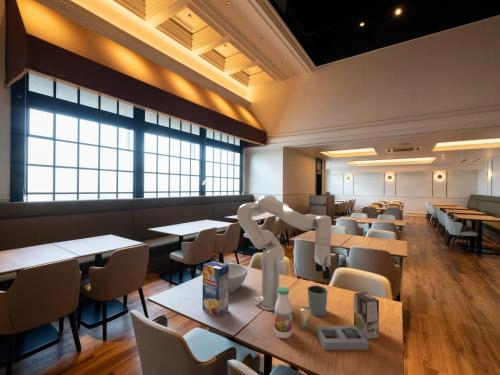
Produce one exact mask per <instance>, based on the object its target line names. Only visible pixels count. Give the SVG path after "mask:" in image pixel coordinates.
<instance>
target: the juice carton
mask: <svg viewBox="0 0 500 375" xmlns="http://www.w3.org/2000/svg"><path fill="white" fill-rule="evenodd" d="M228 290H229V265H226V263H222V262H218V261H213V260H211V261H209V262H207V263H203V264H202V303H201V304H202V308H201V309H203V311H205V310H206V311H205V312H207V311H208V312H207V313H209V312H210V313H209V314H211V313H212V314H211V315H213V314H214V316H216V315H217V316H216V317H218V316H219V317H220V315H221V316H222V315H224V314H225V313H227V312H228V311H229V293H228ZM226 311H227V312H226ZM223 313H224V314H223Z"/></svg>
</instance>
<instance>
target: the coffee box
mask: <svg viewBox="0 0 500 375" xmlns="http://www.w3.org/2000/svg"><path fill="white" fill-rule="evenodd" d="M379 302H380V300H379V299H377V298H375V297H373V296H372V295H370V294H369V293H367V292H366V291H363V292H357V293H356V292H354V293H353V326H356V327H357V328H358V330H359V331H360V332H361V334H362V335H363V336H364V337H365V339H366V340H368V339H369V340H370V339H376V338H379V336H380V335H379V334H380V332H379V330H380V328H379V327H380V323H379V322H380V319H379V318H380V312H379V311H380V303H379Z"/></svg>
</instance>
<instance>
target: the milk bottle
mask: <svg viewBox="0 0 500 375" xmlns="http://www.w3.org/2000/svg"><path fill="white" fill-rule="evenodd" d="M289 291H290V290H289V288H288V287H283V286H279V289H278V294H279V297H278V299H277V301H276V304H275V311H274V334H275V335H276V337H277V338H280V339H288V338H291V336H292V334H293V315H292V314H293V312H292V311H293V307H292V304H291V301H290V298H289Z"/></svg>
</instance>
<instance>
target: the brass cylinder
mask: <svg viewBox="0 0 500 375" xmlns="http://www.w3.org/2000/svg"><path fill="white" fill-rule="evenodd" d="M299 314H300V317H299V319H300V322H299V324H300V325H299V326H300V330H302V331H304V332H309V331H310V330H311V313H310V308H309V306H304V305H303V306H301V307H300V313H299Z"/></svg>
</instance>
